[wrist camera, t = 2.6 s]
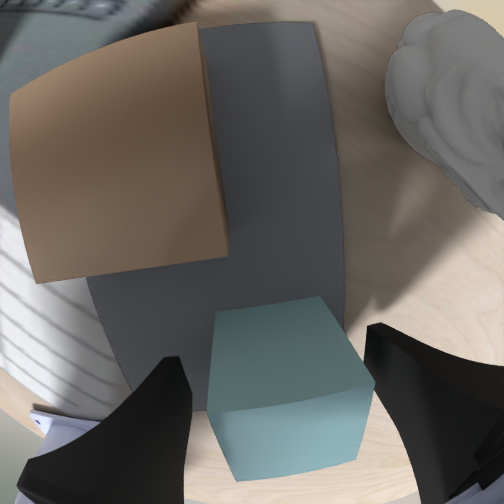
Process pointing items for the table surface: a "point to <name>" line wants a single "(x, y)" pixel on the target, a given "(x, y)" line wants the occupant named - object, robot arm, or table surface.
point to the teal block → (286, 390)
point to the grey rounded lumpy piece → (453, 100)
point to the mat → (244, 208)
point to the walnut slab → (119, 160)
